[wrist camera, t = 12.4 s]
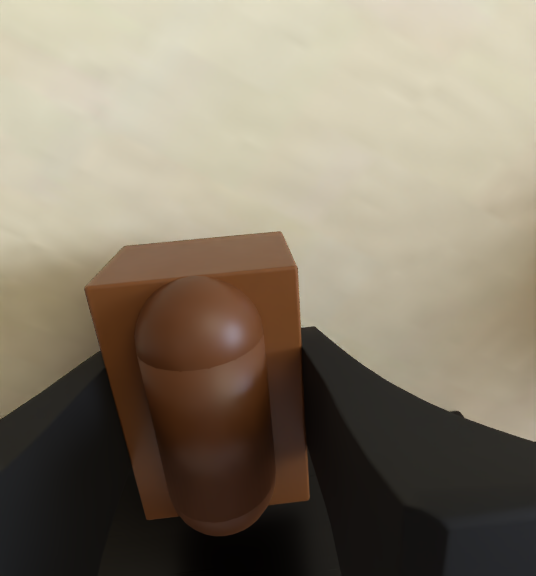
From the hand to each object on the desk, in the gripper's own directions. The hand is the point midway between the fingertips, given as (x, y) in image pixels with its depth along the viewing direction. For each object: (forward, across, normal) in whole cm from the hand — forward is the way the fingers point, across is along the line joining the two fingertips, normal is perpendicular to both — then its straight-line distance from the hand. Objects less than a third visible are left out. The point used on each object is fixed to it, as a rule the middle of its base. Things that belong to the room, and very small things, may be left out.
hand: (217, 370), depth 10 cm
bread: (+1, 0, 0) cm, 1 cm away
